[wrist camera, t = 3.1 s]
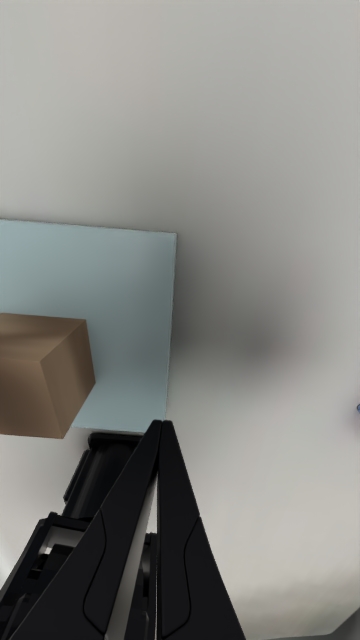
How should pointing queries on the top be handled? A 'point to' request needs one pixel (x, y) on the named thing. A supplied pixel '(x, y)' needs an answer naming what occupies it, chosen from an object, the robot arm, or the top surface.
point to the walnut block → (43, 374)
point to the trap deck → (100, 308)
